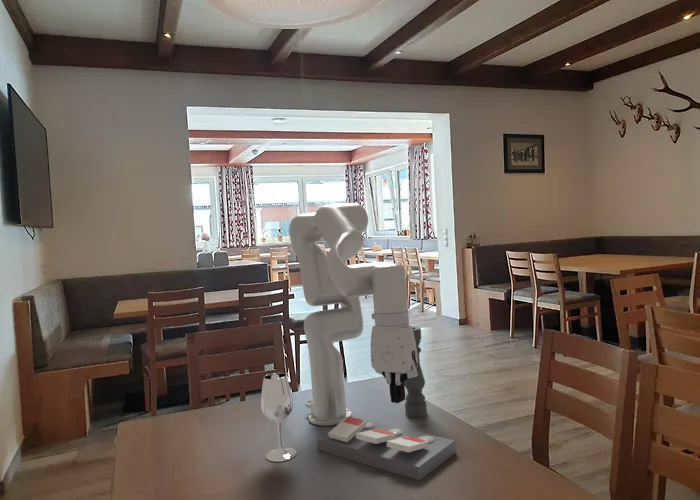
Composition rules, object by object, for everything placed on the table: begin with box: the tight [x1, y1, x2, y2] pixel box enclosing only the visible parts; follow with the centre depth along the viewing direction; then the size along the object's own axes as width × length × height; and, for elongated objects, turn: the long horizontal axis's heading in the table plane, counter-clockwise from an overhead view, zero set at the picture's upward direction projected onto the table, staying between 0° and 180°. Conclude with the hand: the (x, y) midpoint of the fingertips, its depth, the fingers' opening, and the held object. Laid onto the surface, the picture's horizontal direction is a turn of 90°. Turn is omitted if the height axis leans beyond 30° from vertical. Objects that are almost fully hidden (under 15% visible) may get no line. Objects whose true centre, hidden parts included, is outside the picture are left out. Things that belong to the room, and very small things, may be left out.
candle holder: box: [404, 326, 428, 419], centre depth 152 cm, size 6×6×25 cm
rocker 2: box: [356, 429, 396, 444], centre depth 127 cm, size 6×8×1 cm
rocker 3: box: [387, 436, 428, 452], centre depth 121 cm, size 6×8×1 cm
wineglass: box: [260, 372, 297, 463], centre depth 131 cm, size 8×8×20 cm
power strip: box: [316, 417, 457, 481], centre depth 131 cm, size 35×16×3 cm, turn 50°
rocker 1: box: [327, 416, 367, 442], centre depth 132 cm, size 6×8×1 cm
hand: (398, 401), depth 118 cm, fingers closed
